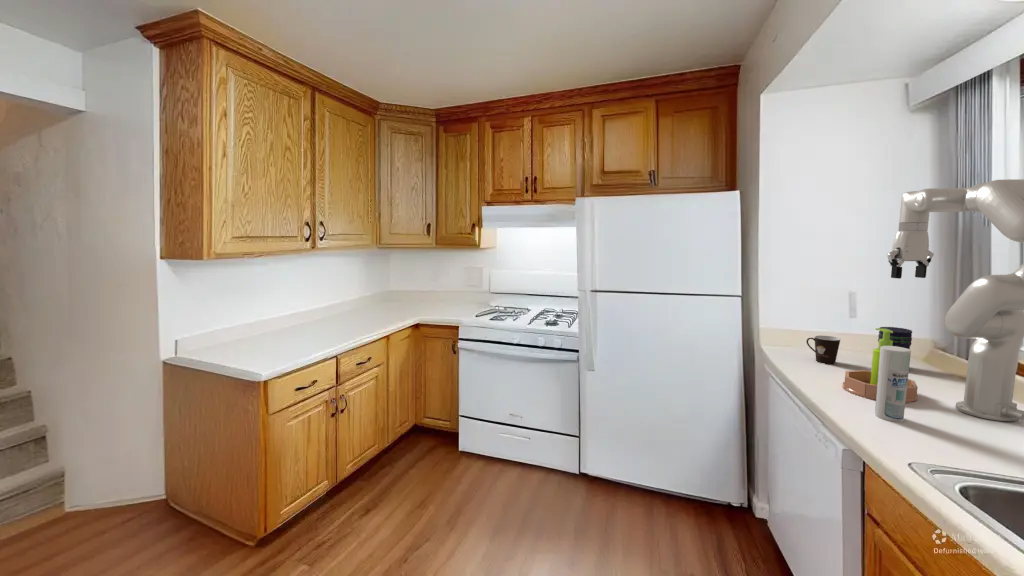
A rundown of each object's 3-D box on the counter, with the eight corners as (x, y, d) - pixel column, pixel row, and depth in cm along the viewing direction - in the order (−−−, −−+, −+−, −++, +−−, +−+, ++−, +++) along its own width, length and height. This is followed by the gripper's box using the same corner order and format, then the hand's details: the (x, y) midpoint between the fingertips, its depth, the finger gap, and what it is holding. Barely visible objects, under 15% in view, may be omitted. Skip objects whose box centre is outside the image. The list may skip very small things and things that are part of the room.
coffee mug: (843, 365, 178) (845, 340, 177) (821, 365, 178) (823, 340, 177) (824, 357, 190) (825, 333, 189) (803, 357, 190) (805, 333, 189)
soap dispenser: (882, 386, 151) (887, 327, 149) (897, 393, 144) (903, 331, 142) (863, 385, 152) (868, 327, 149) (878, 392, 145) (883, 331, 142)
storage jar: (870, 365, 178) (873, 328, 176) (884, 362, 182) (887, 325, 180) (900, 372, 169) (904, 333, 167) (914, 368, 173) (918, 330, 171)
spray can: (890, 412, 131) (896, 345, 129) (910, 421, 125) (917, 351, 123) (868, 413, 131) (874, 345, 129) (887, 422, 125) (894, 351, 122)
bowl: (933, 400, 140) (935, 386, 140) (880, 404, 137) (881, 390, 137) (876, 381, 159) (877, 368, 158) (828, 384, 156) (829, 371, 155)
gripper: (923, 228, 159) (918, 276, 161) (880, 228, 157) (876, 277, 159) (946, 227, 152) (941, 278, 154) (902, 228, 149) (897, 279, 151)
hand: (908, 277), depth 156 cm, fingers open, 9 cm apart
